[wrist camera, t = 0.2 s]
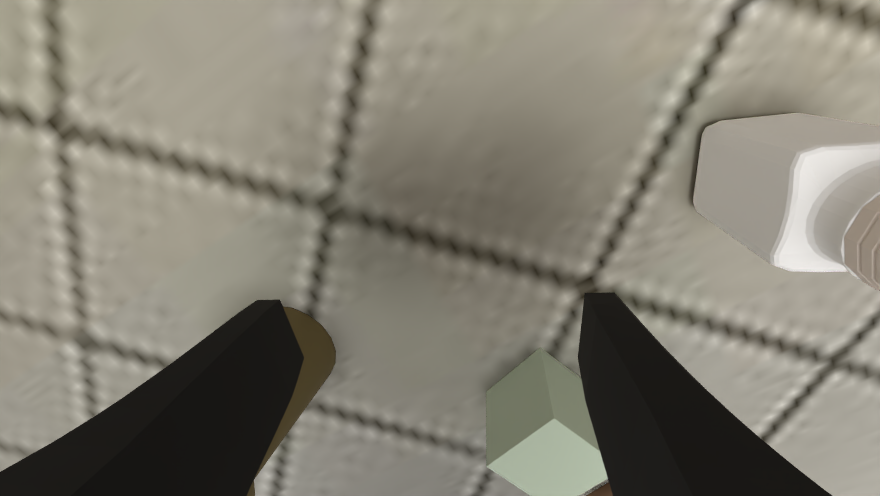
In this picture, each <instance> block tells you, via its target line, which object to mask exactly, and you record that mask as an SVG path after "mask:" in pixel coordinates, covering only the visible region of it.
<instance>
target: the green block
mask: <svg viewBox="0 0 880 496" xmlns="http://www.w3.org/2000/svg"><path fill="white" fill-rule="evenodd" d="M486 467H488V468H489V469H491V470H492V471H494V472H495V473H497V474H498V475H500V476H501V477H503V478H504V479H506V480H507V481H509V482H510V483H512V484H513V485H515V486H516V487H518V488H519V489H521V490H522V491H524V492H525V493H527V494H528V495H530V496H579V495H581V494H583V493H584V492H586V491H588V490H589V489H591V488H593V487H594V486H596V485H598V484H600V483H601V482H603V481H605V480H606V479H608V477H607V474H606V470H605V467H604V463H603V460H602V457H601V453H600V450H599V446H598V443H597V440H596V436H595V433H594V429H593V426H592V422H591V419H590V415H589V412H588V408H587V405H586V401H585V396H584V390H583V385H582V379H581V378H580V377H578V376H577V375H576V374H575V373H573V372H572V371H571V370H569V369H568V368H567V367H565V366H564V365H563V364H561V363H560V362H559V361H558V360H556V359H555V358H554V357H552V356H551V355H550V354H548V353H547V352H546V351H544V350H543V349H542V348H539V349H538V350H537V351H535V352H534V353H533V354H532V355H530V356H529V357H528V358H527V359H526V360H524V361H523V362H522V363H521V364H519V365H518V366H517V367H516V368H515V369H513V370H512V371H511V372H510V373H508V374H507V375H506V376H505V377H504V378H502V379H501V380H500V381H499V382H497V383H496V384H495V385H494V386H493V387H491V388H490V389H489V390H488V391H486Z"/></svg>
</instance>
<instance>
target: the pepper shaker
mask: <svg viewBox="0 0 880 496" xmlns="http://www.w3.org/2000/svg"><path fill="white" fill-rule="evenodd" d="M283 308H284V311H285V313H286V315H287V318H288V320H289V322H290V325H291V327H292V330H293V332H294V334H295V337H296V339H297V341H298V344H299V346H300V349H301V351H302V353H303V356H304V360H303V364H302V367H301V371H300V374H299V377H298V381H297V384H296V387H295V390H294V393H293V396H292V398H291V400H290V403H289V405H288V407H287V409H286V412H285V414H284V416H283V418H282V420H281V422H280V425H279V427H278V429H277V431H276V433H275V435H274V438H273V440H272V442H271V444H270V446H269V448H268V450H267V453H266V455H265V457H264V459H263V461H262V463H261V465H260V468H259V470H258V472H257V474H256V476H257V475H258V473H259V472H260V470H261V469H262V468H263V466H264V465H265V464H266V462H267V461H268V459H269V458H270V457H271V455H272V454H273V452H274V451H275V450H276V448H277V447H278V446H279V444H280V443H281V441H282V440H283V439H284V437H285V436H286V434H287V433H288V432H289V430H290V429H291V428H292V426H293V425H294V423H295V422H296V421H297V419H298V418H299V416H300V415H301V414H302V412H303V411H304V410H305V408H306V407H307V405H308V404H309V403H310V401H311V400H312V398H313V397H314V396H315V394H316V393H317V391H318V390H319V389H320V387H321V386H322V385H323V383H324V382H325V380H326V379H327V378H328V376H329V375H330V373H331V371H332V369H333V367H334V365H335V354H336V351H335V348H334V345H333V342H332V339H331V337H330V336H329V334H328V333H327V332H326V330H325V329H324V328H323V326H322V325H320V324H319V323H318V322H317V321H315V320H314V319H313V318H312V317H310V316H309V315H307V314H305V313H302V312H300V311H298V310H296V309H293V308H288V307H283ZM256 476H255V477H256ZM254 479H255V478H254ZM247 496H255V488H254V480H253V483H252V485H251V487H250V489H249V492H248V494H247Z"/></svg>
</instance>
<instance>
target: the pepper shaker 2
mask: <svg viewBox="0 0 880 496" xmlns="http://www.w3.org/2000/svg"><path fill="white" fill-rule="evenodd" d="M693 203H694V206H695V209H696V212H698V213H699V214H701V215H702V216H703V217H705V218H706V219H708V220H709V221H710V222H712V223H713V224H715V225H716V226H717V227H719V228H720V229H722V230H723V231H725V232H726V233H727V234H729V235H730V236H732V237H733V238H734V239H736V240H737V241H739V242H740V243H741V244H743V245H744V246H746V247H747V248H748V249H750V250H751V251H753V252H754V253H756V254H757V255H758V256H760V257H761V258H763V259H764V260H765V261H767V262H768V263H770V264H771V265H774V266H777V267H779V268H782V269H785V270H788V271H802V272H841V271H848V272H849V273H850V274H852V275H853V276H855V277H856V278H858V279H859V280H861V281H863V282H864V283H866V284H868V285H869V286H871V287H873V288H875V289H877V290H879V291H880V126H878V125H871V124H865V123H859V122H853V121H847V120H841V119H835V118H828V117H822V116H816V115H810V114H804V113H789V114H779V115H770V116H760V117H751V118H741V119H732V120H722V121H719V122H717V123H714V124H712V125H710V126H707V127H706V128H705V130H704V132H703V134H702V138H701V145H700V152H699V160H698V167H697V174H696V181H695V189H694V196H693Z"/></svg>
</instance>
